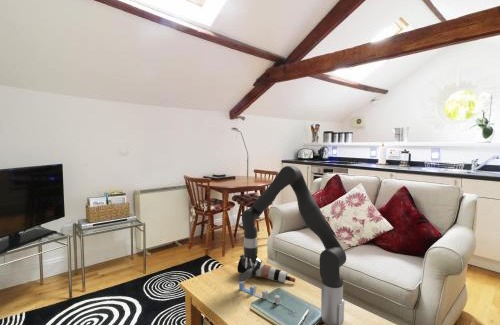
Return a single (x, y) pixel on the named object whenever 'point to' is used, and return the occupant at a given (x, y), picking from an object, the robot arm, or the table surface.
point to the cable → (268, 272)
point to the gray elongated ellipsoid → (245, 275)
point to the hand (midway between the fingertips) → (250, 275)
